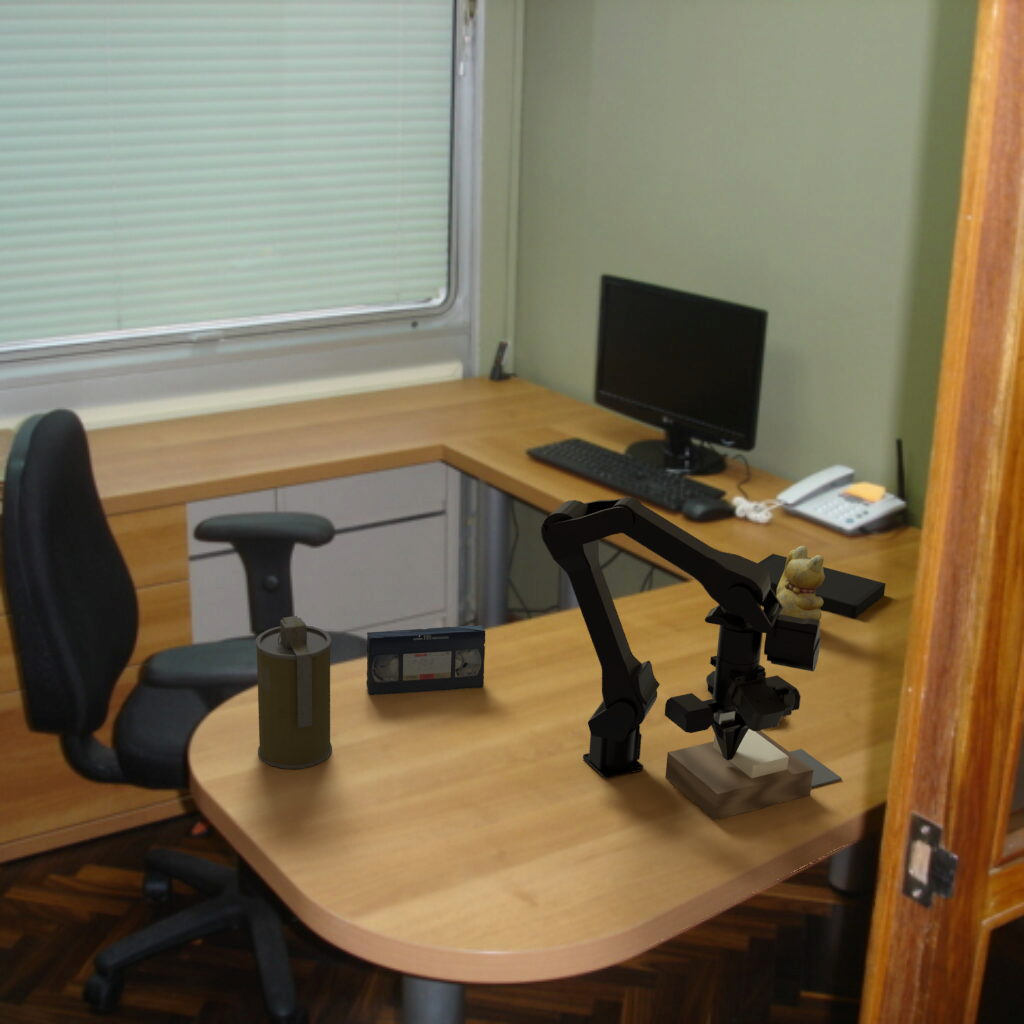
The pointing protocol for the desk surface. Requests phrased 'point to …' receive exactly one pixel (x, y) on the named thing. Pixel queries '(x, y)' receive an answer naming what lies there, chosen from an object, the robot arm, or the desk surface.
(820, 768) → the mat
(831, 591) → the external hard drive
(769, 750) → the cream rectangular box
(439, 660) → the vhs cassette tape
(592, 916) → the desk surface
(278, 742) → the canister
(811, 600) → the decorative figurine
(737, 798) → the riser
